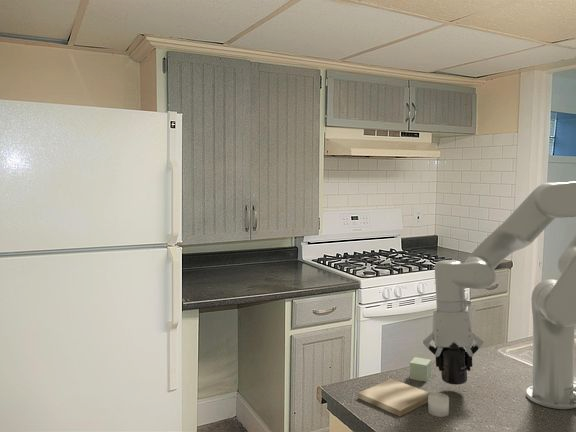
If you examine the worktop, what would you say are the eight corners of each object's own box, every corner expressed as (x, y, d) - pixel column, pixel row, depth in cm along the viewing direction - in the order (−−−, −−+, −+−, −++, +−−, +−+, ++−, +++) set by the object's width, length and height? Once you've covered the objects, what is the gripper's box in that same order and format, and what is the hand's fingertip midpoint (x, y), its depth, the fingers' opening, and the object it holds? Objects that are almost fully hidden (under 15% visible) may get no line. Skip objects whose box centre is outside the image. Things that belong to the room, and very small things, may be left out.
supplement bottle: (469, 385, 131) (467, 341, 130) (443, 385, 133) (440, 341, 132) (465, 375, 138) (463, 333, 137) (440, 375, 139) (438, 334, 139)
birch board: (432, 399, 131) (432, 393, 131) (400, 416, 122) (400, 410, 122) (391, 383, 142) (391, 378, 141) (358, 398, 133) (358, 392, 133)
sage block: (431, 376, 146) (431, 359, 146) (426, 382, 142) (426, 365, 142) (414, 373, 149) (414, 357, 149) (409, 379, 145) (409, 362, 144)
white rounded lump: (452, 412, 123) (452, 397, 123) (441, 419, 120) (441, 403, 120) (435, 405, 127) (435, 390, 127) (424, 412, 124) (424, 396, 124)
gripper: (481, 301, 136) (484, 364, 137) (417, 303, 139) (420, 364, 140) (487, 308, 129) (490, 374, 130) (419, 309, 132) (422, 374, 133)
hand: (454, 368), depth 135 cm, fingers closed on supplement bottle, 6 cm apart
